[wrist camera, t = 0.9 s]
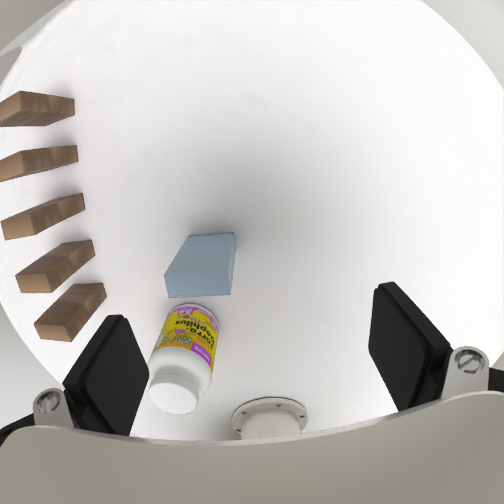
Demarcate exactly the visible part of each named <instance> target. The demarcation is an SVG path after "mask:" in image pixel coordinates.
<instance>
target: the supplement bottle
mask: <svg viewBox="0 0 504 504" xmlns="http://www.w3.org/2000/svg"><path fill="white" fill-rule="evenodd" d="M217 338H218V323H217V320H216V318H215V317H214V315H213V314H212V313H211V312H210V311H209V310H207V309H206V308H204V307H202V306H199V305H195V304H183V305H180V306H177V307H176V308H174V309H173V310H172V311H171V312H170V313H169V315H168V317H167V319H166V321H165V323H164V326H163V328H162V330H161V333H160V335H159V337H158V340H157V342H156V344H155V347H154V349H153V352H152V354H151V356H150V359H149V362H148V369H149V378H150V380H151V383H150V387H149V390H148V396H149V399H150V401H151V402H152V403H153V404H154V405H155V406H156V407H158V408H159V409H161V410H163V411H165V412H168V413H172V414H187V413H190V412H192V411H193V410H194V409H195V408H196V406H197V403H198V398H199V395H201V394H203V393H204V392H205V391H206V390H207V389H208V387H209V385H210V383H211V378H212V372H213V365H214V358H215V351H216V345H217Z"/></svg>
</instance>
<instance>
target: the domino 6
mask: <svg viewBox="0 0 504 504" xmlns="http://www.w3.org/2000/svg"><path fill="white" fill-rule="evenodd" d="M234 258H235V242H234V233H222V234H210V235H198V236H188V237H187V239H186V240H185V242H184V244H183V245H182V247H181V248H180V250H179V252H178V253H177V255H176V256H175V258H174V260H173V261H172V263H171V265H170V266H169V268H168V270H167V271H166V273H165V274H164V277H165V282H166V287H167V291H168V296H169V298H176V297H197V296H215V295H231V286H232V276H233V267H234Z"/></svg>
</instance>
